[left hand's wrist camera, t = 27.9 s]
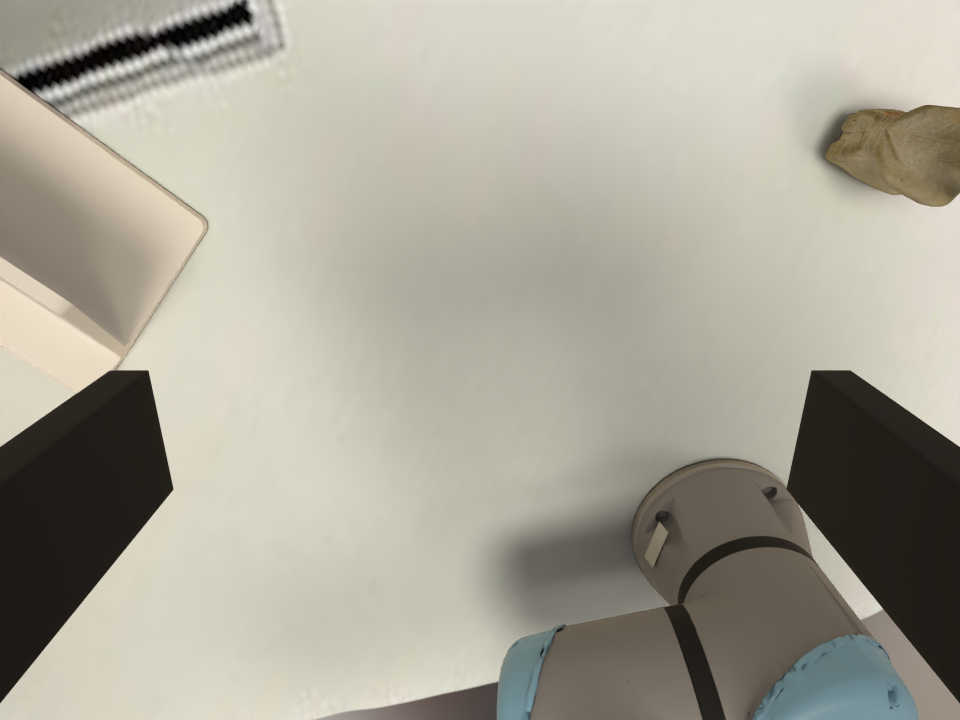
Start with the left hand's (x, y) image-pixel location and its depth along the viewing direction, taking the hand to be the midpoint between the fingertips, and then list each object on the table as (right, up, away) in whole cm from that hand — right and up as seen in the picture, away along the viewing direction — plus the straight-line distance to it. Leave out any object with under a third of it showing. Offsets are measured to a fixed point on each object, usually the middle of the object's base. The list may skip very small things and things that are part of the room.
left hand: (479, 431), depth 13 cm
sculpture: (+29, +17, +34) cm, 48 cm away
